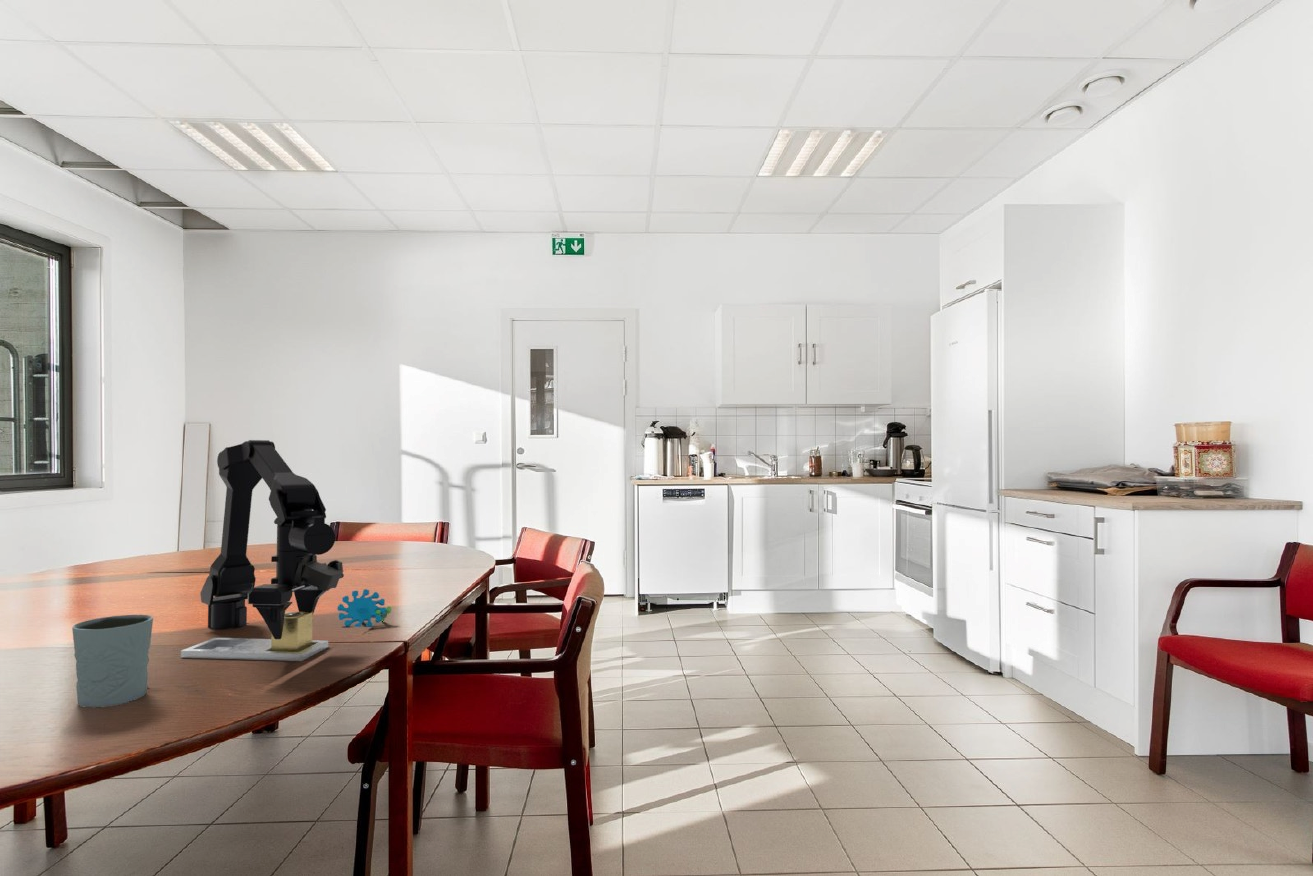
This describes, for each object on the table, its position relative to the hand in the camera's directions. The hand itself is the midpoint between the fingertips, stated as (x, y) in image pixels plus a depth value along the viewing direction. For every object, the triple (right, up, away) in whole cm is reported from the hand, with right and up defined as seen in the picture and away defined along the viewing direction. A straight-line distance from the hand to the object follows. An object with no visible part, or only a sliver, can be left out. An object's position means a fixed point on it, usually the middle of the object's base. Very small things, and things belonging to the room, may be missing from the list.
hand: (292, 632), depth 133 cm
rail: (-7, -5, 0) cm, 8 cm away
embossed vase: (-17, -4, -22) cm, 28 cm away
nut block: (0, -4, 0) cm, 4 cm away
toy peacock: (+4, -5, +24) cm, 24 cm away
